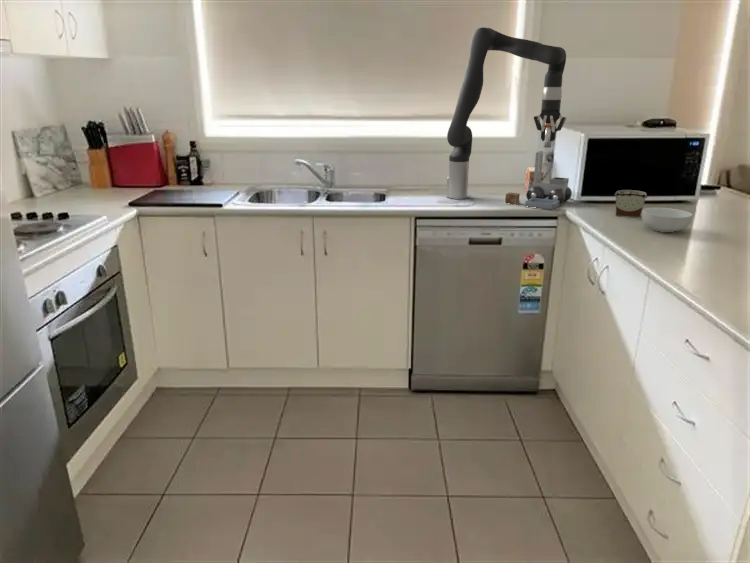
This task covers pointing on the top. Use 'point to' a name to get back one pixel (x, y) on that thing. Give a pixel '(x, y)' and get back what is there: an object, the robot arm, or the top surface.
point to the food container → (629, 202)
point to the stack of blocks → (530, 177)
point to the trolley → (548, 185)
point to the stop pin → (547, 135)
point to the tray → (542, 203)
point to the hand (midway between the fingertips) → (547, 140)
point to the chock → (512, 198)
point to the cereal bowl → (666, 219)
